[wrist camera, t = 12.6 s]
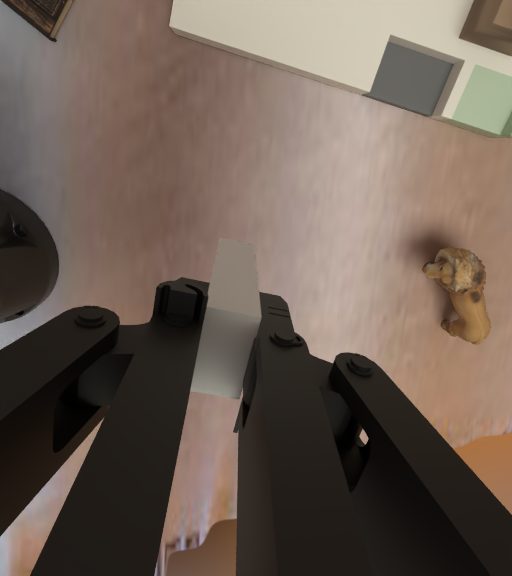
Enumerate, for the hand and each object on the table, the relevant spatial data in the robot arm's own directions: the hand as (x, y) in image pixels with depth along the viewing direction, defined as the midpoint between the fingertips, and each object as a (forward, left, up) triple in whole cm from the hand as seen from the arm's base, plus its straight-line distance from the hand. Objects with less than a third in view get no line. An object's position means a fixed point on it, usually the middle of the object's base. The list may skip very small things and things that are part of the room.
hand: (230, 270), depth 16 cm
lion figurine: (+25, -4, -26) cm, 36 cm away
